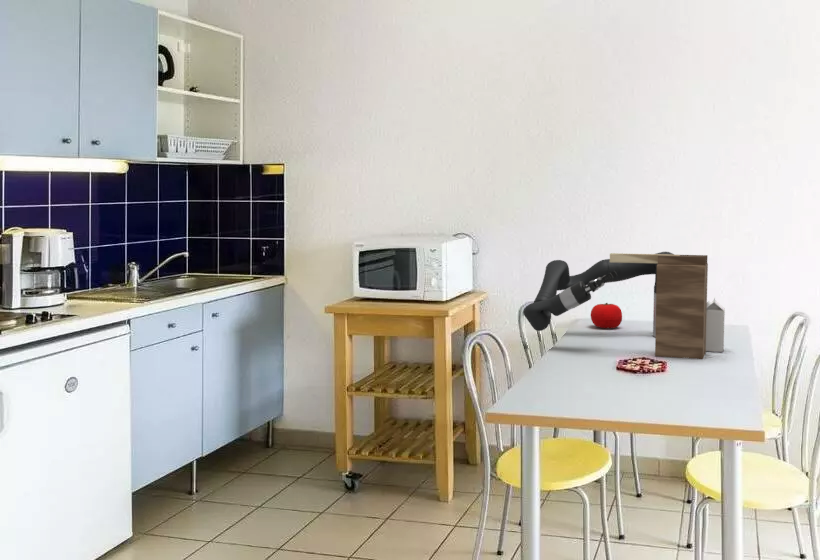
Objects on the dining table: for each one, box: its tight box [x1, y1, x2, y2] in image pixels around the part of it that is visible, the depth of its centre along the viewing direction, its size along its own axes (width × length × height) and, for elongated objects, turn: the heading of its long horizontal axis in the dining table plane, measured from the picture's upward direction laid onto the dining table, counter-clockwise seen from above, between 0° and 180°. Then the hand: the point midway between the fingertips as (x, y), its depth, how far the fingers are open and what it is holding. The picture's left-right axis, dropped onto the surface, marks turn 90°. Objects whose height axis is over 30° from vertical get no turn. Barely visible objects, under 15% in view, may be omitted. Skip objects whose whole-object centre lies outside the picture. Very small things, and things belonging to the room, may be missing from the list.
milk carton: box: [706, 296, 726, 353], centre depth 357 cm, size 7×7×19 cm
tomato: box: [590, 302, 623, 329], centre depth 413 cm, size 14×13×10 cm
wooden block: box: [609, 252, 681, 263], centre depth 350 cm, size 3×24×3 cm, turn 69°
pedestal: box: [654, 254, 709, 360], centre depth 347 cm, size 12×16×35 cm
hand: (614, 274), depth 354 cm, fingers open, 8 cm apart
